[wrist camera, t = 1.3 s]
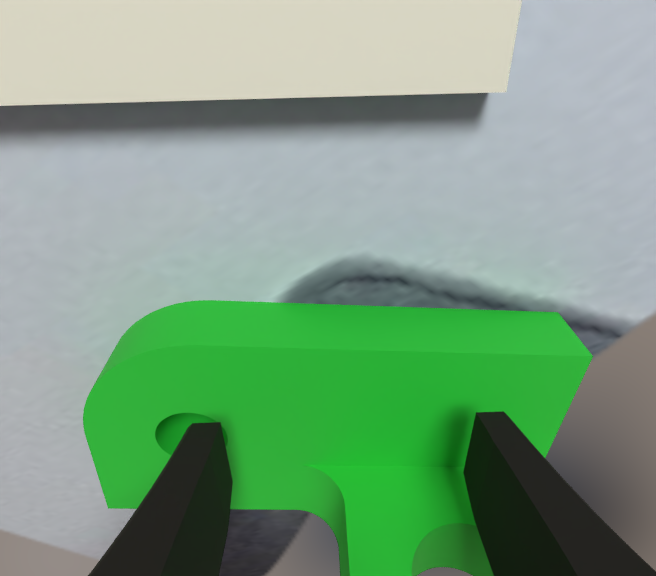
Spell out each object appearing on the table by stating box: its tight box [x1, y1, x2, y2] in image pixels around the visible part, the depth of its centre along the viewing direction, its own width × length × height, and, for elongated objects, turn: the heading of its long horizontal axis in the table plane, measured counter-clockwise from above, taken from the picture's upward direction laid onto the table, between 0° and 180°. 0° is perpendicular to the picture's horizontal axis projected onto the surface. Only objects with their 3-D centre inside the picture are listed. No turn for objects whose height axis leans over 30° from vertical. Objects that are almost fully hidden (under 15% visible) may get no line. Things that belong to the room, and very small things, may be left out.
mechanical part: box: [83, 300, 593, 576], centre depth 10 cm, size 12×6×8 cm, turn 86°
